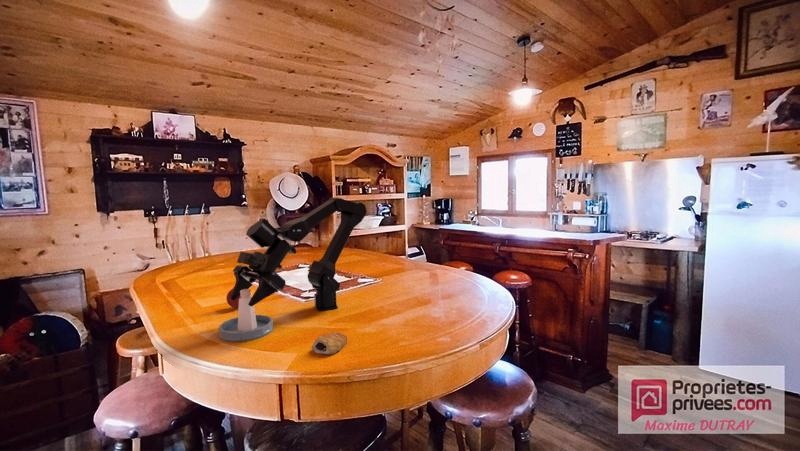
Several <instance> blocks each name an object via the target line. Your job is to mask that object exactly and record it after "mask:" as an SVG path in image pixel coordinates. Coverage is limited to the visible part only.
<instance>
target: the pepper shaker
mask: <svg viewBox="0 0 800 451" xmlns="http://www.w3.org/2000/svg"><path fill="white" fill-rule="evenodd" d="M251 293H252V290H251V289H250V288H249V289H243V290H241V291H240V295H241V298H240V299H239V308H237V309H238V314H237V317H238V331H249V330H254V329H255V328H257V322H256V316H255V315H256V312H255V305H253V306H249V305H248V304H249V302H250V300H251V298H252V296H251Z"/></svg>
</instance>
